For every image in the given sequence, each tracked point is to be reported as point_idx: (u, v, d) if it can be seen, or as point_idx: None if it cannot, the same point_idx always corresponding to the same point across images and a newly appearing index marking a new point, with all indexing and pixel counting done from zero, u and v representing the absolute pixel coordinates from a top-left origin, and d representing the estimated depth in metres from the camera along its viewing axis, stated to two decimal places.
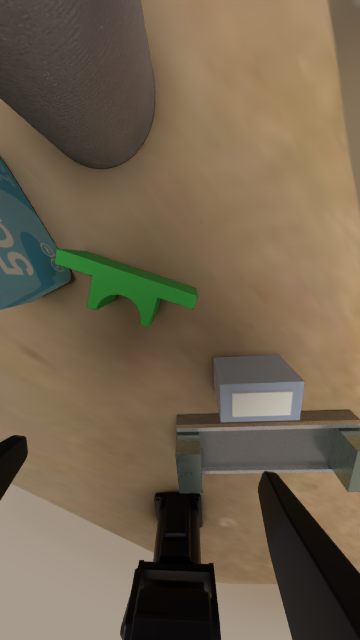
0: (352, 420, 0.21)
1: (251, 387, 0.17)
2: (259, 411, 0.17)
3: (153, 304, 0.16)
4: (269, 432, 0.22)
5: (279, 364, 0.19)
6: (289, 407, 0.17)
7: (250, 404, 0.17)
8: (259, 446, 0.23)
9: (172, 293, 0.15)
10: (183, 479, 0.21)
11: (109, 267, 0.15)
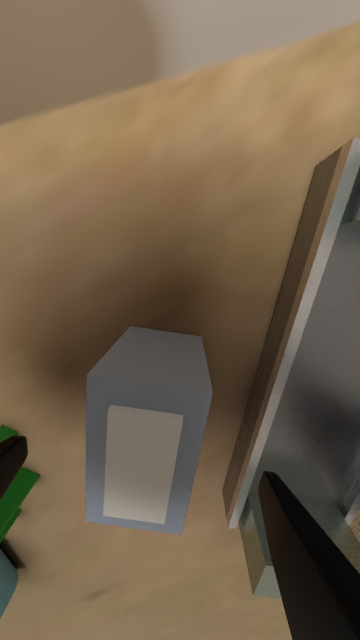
0: (334, 173, 0.07)
1: (98, 476, 0.07)
2: (158, 479, 0.07)
3: None
4: (298, 381, 0.10)
5: None
6: (156, 422, 0.06)
7: (135, 492, 0.07)
8: (330, 405, 0.10)
9: None
10: None
11: None
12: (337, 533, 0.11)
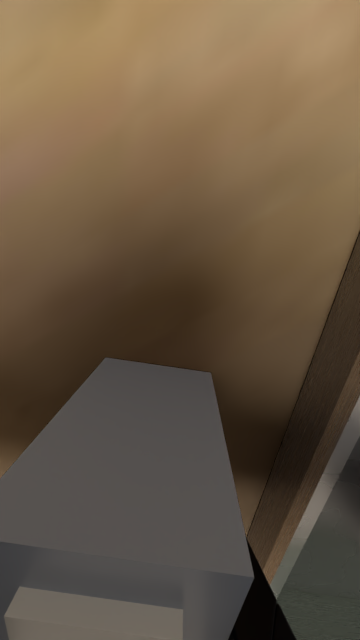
0: None
1: None
2: None
3: None
4: None
5: None
6: (120, 639, 0.03)
7: None
8: None
9: None
10: None
11: None
12: None
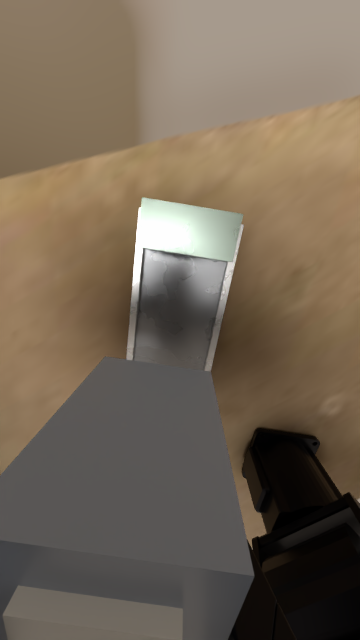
0: None
1: None
2: None
3: None
4: (146, 340, 0.16)
5: None
6: None
7: None
8: (168, 356, 0.16)
9: None
10: None
11: None
12: None
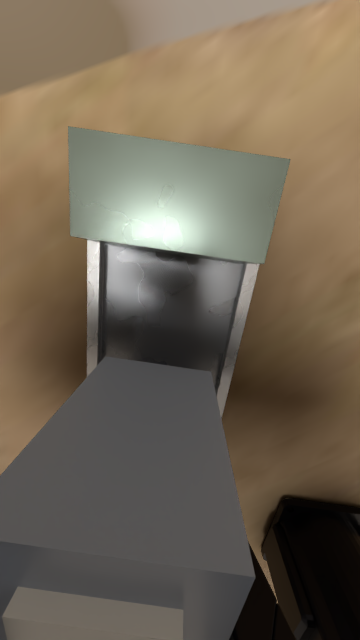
0: None
1: None
2: None
3: None
4: None
5: None
6: (120, 639, 0.03)
7: None
8: None
9: None
10: None
11: None
12: None
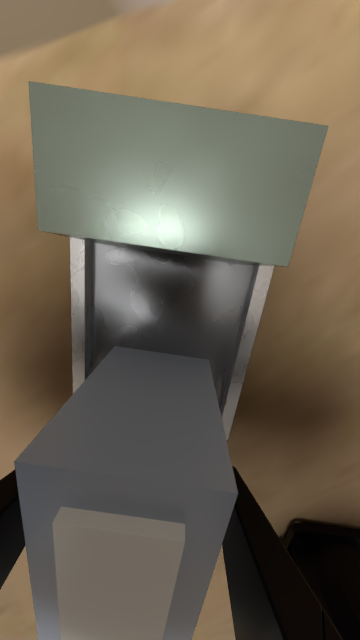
0: None
1: (51, 598, 0.05)
2: (144, 615, 0.04)
3: None
4: None
5: None
6: (138, 541, 0.04)
7: (108, 629, 0.04)
8: None
9: None
10: None
11: None
12: None
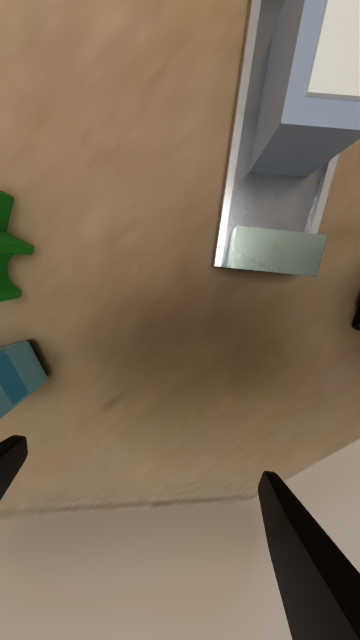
0: None
1: (307, 44, 0.08)
2: None
3: None
4: (259, 100, 0.13)
5: (285, 9, 0.10)
6: None
7: (346, 45, 0.08)
8: None
9: None
10: (285, 264, 0.12)
11: None
12: None
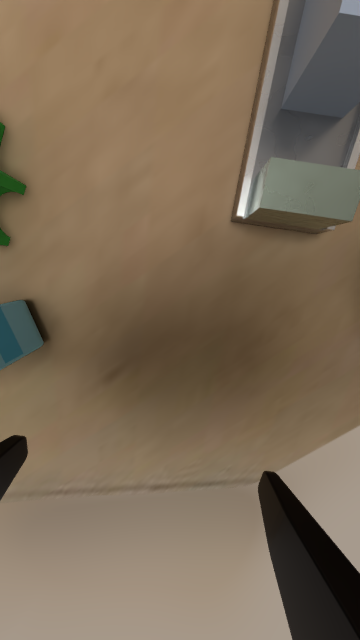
0: None
1: None
2: None
3: None
4: (298, 24, 0.11)
5: None
6: None
7: None
8: None
9: None
10: (320, 205, 0.11)
11: None
12: None
